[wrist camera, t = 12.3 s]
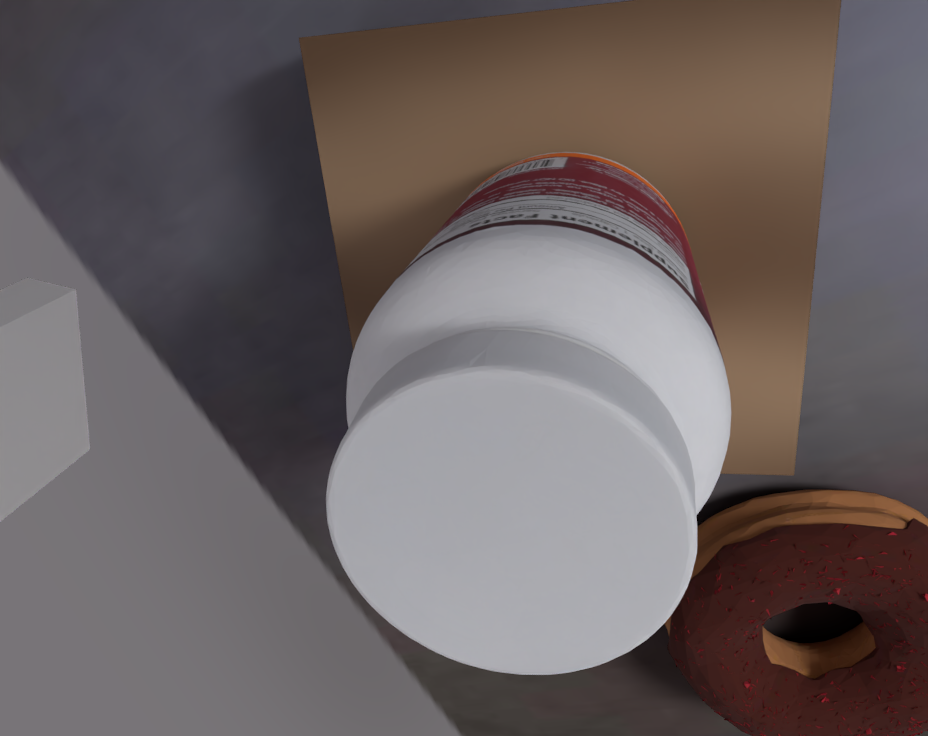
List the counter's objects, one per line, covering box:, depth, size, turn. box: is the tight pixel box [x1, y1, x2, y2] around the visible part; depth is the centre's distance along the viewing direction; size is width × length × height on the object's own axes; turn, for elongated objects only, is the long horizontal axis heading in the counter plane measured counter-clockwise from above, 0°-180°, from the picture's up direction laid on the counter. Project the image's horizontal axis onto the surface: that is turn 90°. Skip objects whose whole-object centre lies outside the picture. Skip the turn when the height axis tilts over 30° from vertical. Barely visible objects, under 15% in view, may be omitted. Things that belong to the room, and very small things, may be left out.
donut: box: [664, 490, 928, 736], centre depth 25 cm, size 10×10×4 cm
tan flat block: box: [299, 0, 841, 475], centre depth 21 cm, size 12×12×4 cm
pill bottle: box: [326, 152, 731, 675], centre depth 14 cm, size 6×6×11 cm
